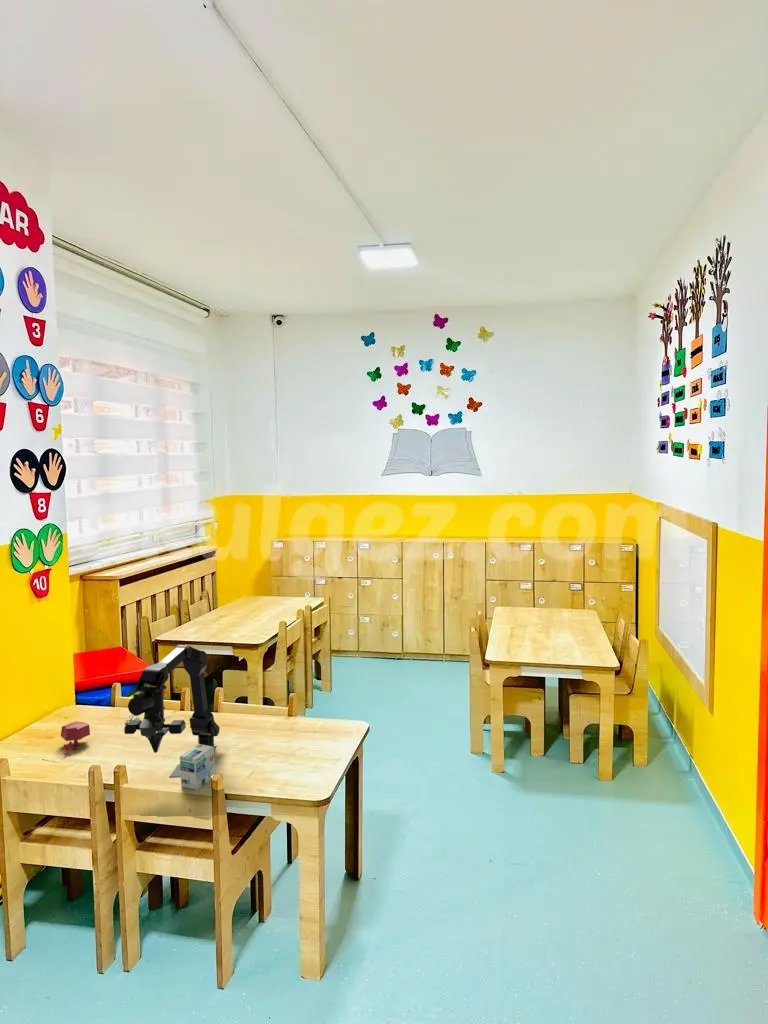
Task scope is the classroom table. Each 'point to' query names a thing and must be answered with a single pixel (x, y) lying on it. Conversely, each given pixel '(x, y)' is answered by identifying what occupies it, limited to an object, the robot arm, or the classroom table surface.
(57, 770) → the classroom table surface
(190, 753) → the light bulb box
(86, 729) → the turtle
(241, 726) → the classroom table surface
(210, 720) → the robot arm
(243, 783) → the classroom table surface
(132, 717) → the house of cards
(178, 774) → the slate mat
